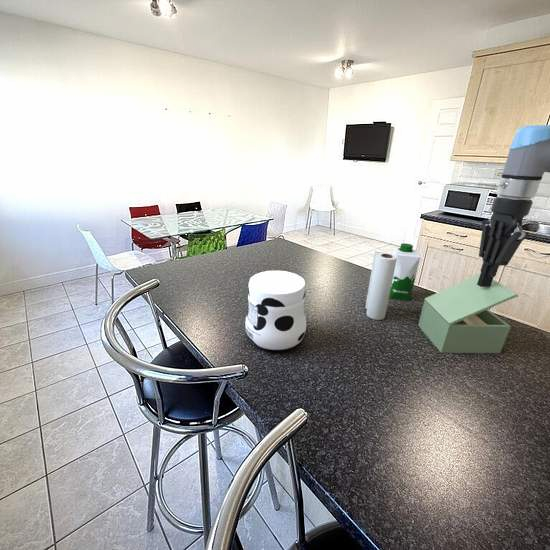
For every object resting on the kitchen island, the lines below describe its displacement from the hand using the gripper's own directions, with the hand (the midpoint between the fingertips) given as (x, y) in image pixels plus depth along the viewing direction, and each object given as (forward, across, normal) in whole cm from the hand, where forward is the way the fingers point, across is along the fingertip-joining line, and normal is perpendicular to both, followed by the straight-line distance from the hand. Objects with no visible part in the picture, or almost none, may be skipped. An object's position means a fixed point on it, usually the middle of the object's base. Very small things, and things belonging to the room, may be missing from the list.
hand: (483, 285), depth 80 cm
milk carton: (+18, -26, -10) cm, 33 cm away
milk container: (+18, 0, -56) cm, 59 cm away
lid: (+4, 0, -3) cm, 5 cm away
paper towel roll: (+18, -13, -23) cm, 32 cm away
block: (+17, 0, 0) cm, 17 cm away
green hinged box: (+18, 0, -3) cm, 18 cm away
